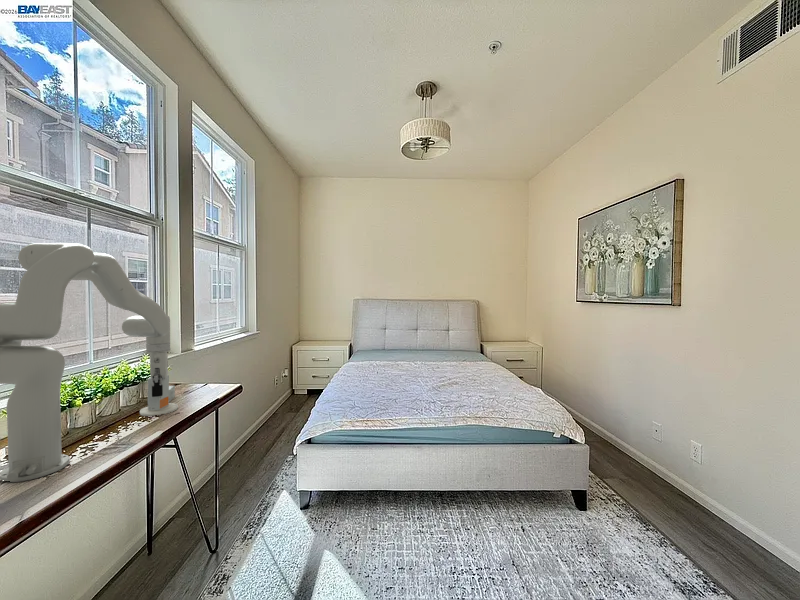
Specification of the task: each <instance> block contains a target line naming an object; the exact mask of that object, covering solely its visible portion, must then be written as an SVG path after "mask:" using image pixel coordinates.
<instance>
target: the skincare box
mask: <svg viewBox="0 0 800 600" xmlns="http://www.w3.org/2000/svg"><path fill="white" fill-rule="evenodd" d="M152 383H153V380H152V379H151V377H149V378H147V406H148V410H160V409H162V408H165V407H167V406H169V403H170V402H169V386H170V375H169V374H168V376H167V378H166V379H164V378H162V385H163V395H162V396H158V397H152Z"/></svg>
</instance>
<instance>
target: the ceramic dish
mask: <svg viewBox="0 0 800 600" xmlns="http://www.w3.org/2000/svg"><path fill="white" fill-rule="evenodd" d="M178 409H179V405H178V404H177V403H173V402H169V406H167V407H165V408H162V409H160V410H148V405H147V406H145V407H143V408H140V410H139V415H140V416H142V417H156V416H155V415H159V416H162V415H161V414H164V415H167V414H166V413H168V414H171V413H174V412H176V411H177V410H178ZM175 410H176V411H175ZM173 411H174V412H173ZM170 412H171V413H170Z"/></svg>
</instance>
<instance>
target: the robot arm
mask: <svg viewBox="0 0 800 600" xmlns="http://www.w3.org/2000/svg"><path fill="white" fill-rule="evenodd" d="M17 258H18V262H19V265H21V267H22V268H23V269H24V270H26V271H25V273H24V274H23V276H22V277H21V280H20V282H19V286H18V289H17V290H18V291H17V296H16V301H15V302H5V303H3V302H2V303H0V384H1V385H15V386H14V388H13V390H12V392H11V393H10V395H9V396H8V399H7V402H6V421H7V423H6V425H7V457H8V465H7V466H8V467H6V468H4V469H3V470H2V471H0V479H1V480H4V481H10V482H9V483H18V482H26V481H31V480H34V479H38V478H43V477H45V476H48V475H50V474H53V473H56V472H58V471H60V470H62V469H63V468H65V467H67V466H68V465H69V463H70V462H71V461H70V460H71V459H70V456H69V455H67V454H64V453H62V452H63V451H62V420H61V419H62V414H61V410H62V409H61V385H62V379H63V375H64V371H65V365H66V361H65V357H64V356H63V353H61V352H60V351H59V350H58V349H55V348H53V347H50V346H43V345H22V341H46V340H49V339H52V338H54V337H56V336H57V335H58V334H59V332H60V330H61V327H62V319H63V311H64V301H65V294H66V289H67V286H68V284H69V283H70V282H71V281H91V283H93V285H94V286H95V288H96V289H97V290H98V292H99V293H100V294H101V296H102V297H103V299H104V300H105V301H106V302H107V303H108V304H110V305H112V306H114V307H117V308H119V309H123V310H125V311H128V312H131V313H134V314H136V315H132V316H129V317H127V318H126V319H124V321H123V322H122V325H121V330H122V332H123V333H124V334H125V335H127V336H129V337H132V338H133V337H134V338H145V348H146V349H145V352H146V353H147V354H149V370H150V371H149V372H150V375H149V376H150V378H151V379H152V380H153V383H152V397H158V396H162V395H163V385H162V378H164V379H166V378H167V376H168V375H169V359H168V355H169V354H168V352H170V351H171V318H170V316H169V315H167V314H166V312H165V311H164V309H163V307H161V305H160V304H158V303H157V302H156V301H155V300H153V298H150V297H149V296H147V295H145V294H144V293H142V292H141V291H138V290H137V289H136V288H135V286H134V285H133V284H132V281H131V280H130V279H129V277H128V276H127V274H126V273H125V271H124V270H123V268H122V266H121V265H120V264H119V261H118V260H117V259H116V258H115V257H114V256H113V255H110V254H108V253H103V252H94V251H93V249H92V248H91V247H89V246H88V245H85V244H82V243H74V242H51V243H49V242H42V243H41V242H38V243H37V242H36V243H30V244H26V245H24V246H23V247H22V248H21V249H20V251H19V253H18V257H17ZM1 480H0V481H1Z"/></svg>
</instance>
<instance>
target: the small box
mask: <svg viewBox="0 0 800 600" xmlns="http://www.w3.org/2000/svg"><path fill="white" fill-rule="evenodd" d="M175 388H176V386H175V385H169V403H171V401H172V400H174V398H175V397H176V394H175V393H176V389H175Z"/></svg>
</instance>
